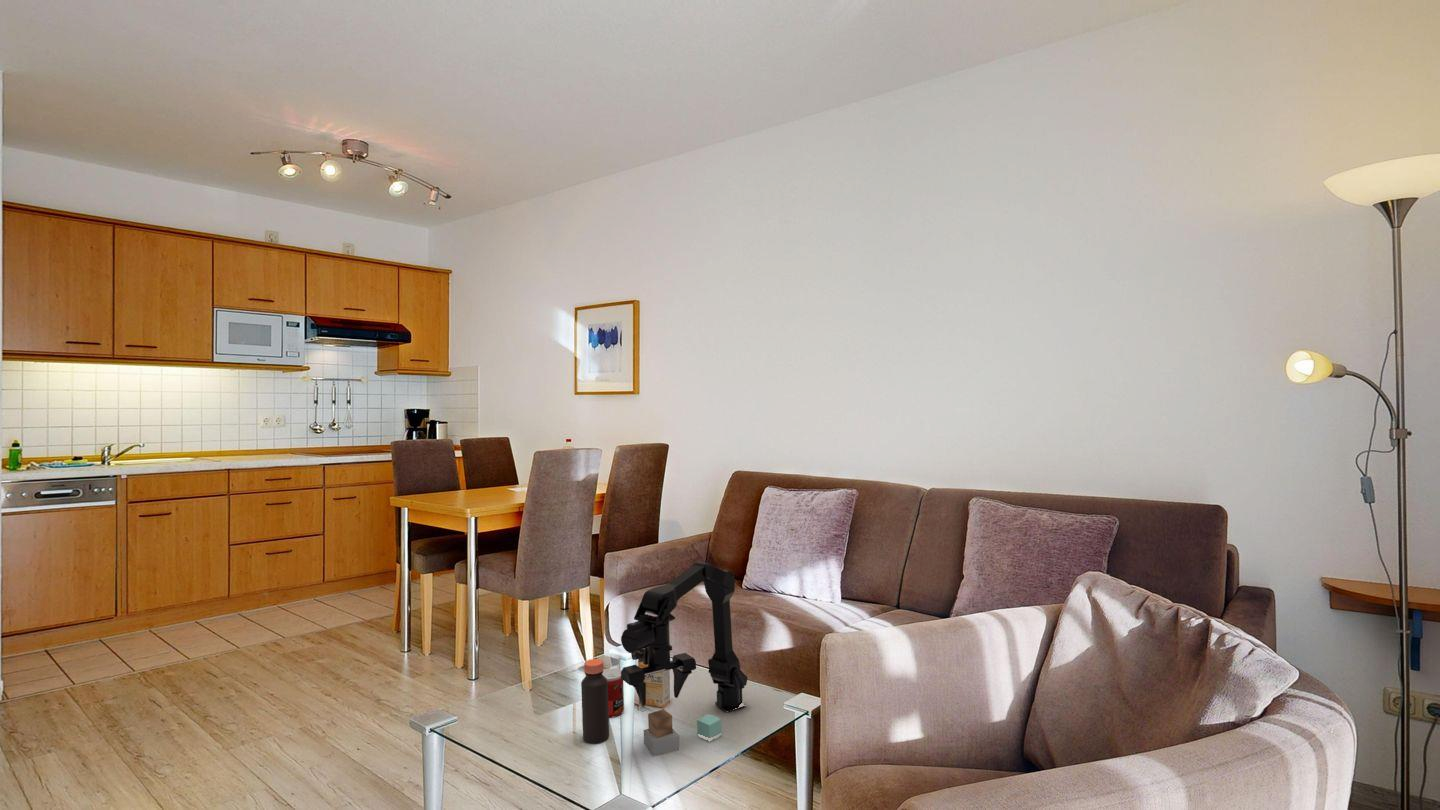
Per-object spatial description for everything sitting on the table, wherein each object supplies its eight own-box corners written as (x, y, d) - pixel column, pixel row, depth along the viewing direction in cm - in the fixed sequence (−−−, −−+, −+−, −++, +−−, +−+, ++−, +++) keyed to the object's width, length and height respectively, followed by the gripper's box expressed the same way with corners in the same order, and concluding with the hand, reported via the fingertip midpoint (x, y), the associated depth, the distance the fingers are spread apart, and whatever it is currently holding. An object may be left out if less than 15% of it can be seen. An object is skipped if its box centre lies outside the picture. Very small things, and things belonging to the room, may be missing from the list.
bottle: (587, 746, 190) (585, 669, 189) (579, 735, 196) (577, 660, 195) (612, 740, 193) (610, 664, 192) (604, 729, 199) (602, 655, 198)
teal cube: (709, 730, 197) (709, 714, 197) (721, 736, 194) (721, 719, 194) (697, 736, 194) (697, 719, 194) (709, 742, 191) (709, 725, 190)
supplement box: (637, 704, 214) (636, 659, 213) (645, 697, 218) (644, 653, 218) (663, 708, 211) (662, 663, 210) (671, 701, 215) (669, 657, 215)
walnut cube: (664, 725, 192) (663, 708, 192) (672, 732, 188) (672, 715, 188) (648, 731, 190) (648, 713, 189) (656, 738, 186) (656, 720, 186)
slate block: (669, 739, 193) (669, 724, 193) (679, 751, 187) (678, 735, 187) (643, 745, 190) (643, 729, 190) (653, 757, 184) (652, 741, 184)
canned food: (618, 719, 205) (617, 679, 204) (591, 717, 206) (590, 678, 206) (627, 706, 212) (626, 668, 212) (601, 705, 214) (600, 667, 213)
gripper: (675, 625, 199) (677, 682, 200) (611, 639, 190) (612, 699, 190) (696, 637, 190) (697, 697, 190) (629, 652, 180) (631, 715, 181)
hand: (659, 701), depth 188 cm, fingers open, 9 cm apart
